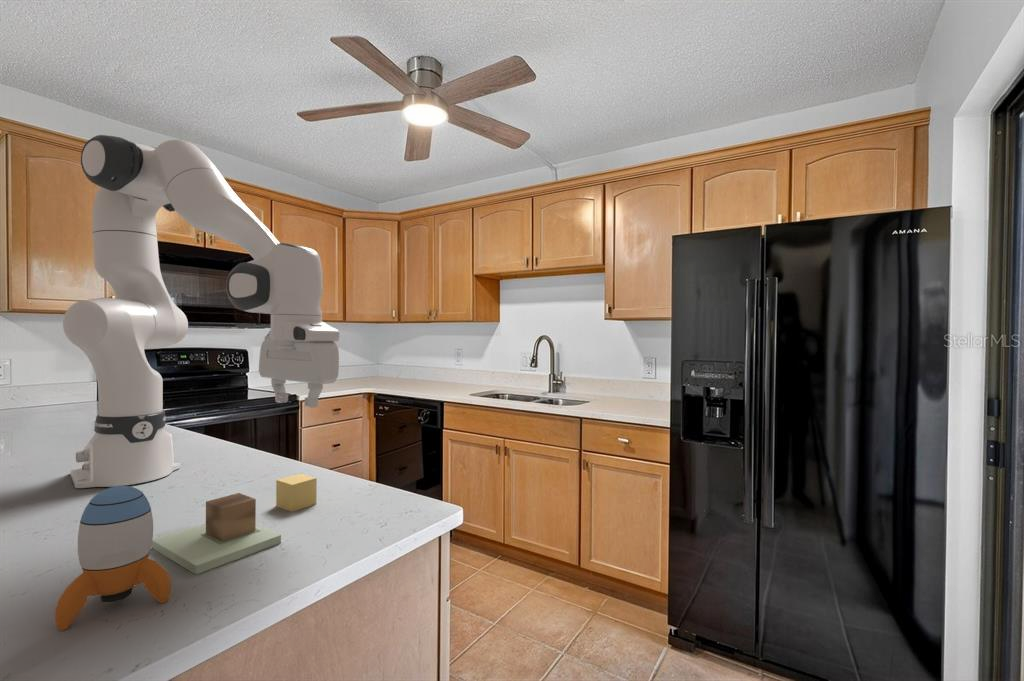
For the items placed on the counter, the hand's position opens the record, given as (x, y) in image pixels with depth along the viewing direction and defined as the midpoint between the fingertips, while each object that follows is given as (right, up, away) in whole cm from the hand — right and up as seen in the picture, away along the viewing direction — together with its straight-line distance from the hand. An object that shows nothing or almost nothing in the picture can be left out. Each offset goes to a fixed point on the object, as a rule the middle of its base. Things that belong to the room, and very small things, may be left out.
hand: (296, 404), depth 91 cm
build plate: (-4, -19, -17) cm, 26 cm away
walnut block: (-3, -18, -15) cm, 24 cm away
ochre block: (0, -19, +1) cm, 19 cm away
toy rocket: (-5, -20, -33) cm, 39 cm away
